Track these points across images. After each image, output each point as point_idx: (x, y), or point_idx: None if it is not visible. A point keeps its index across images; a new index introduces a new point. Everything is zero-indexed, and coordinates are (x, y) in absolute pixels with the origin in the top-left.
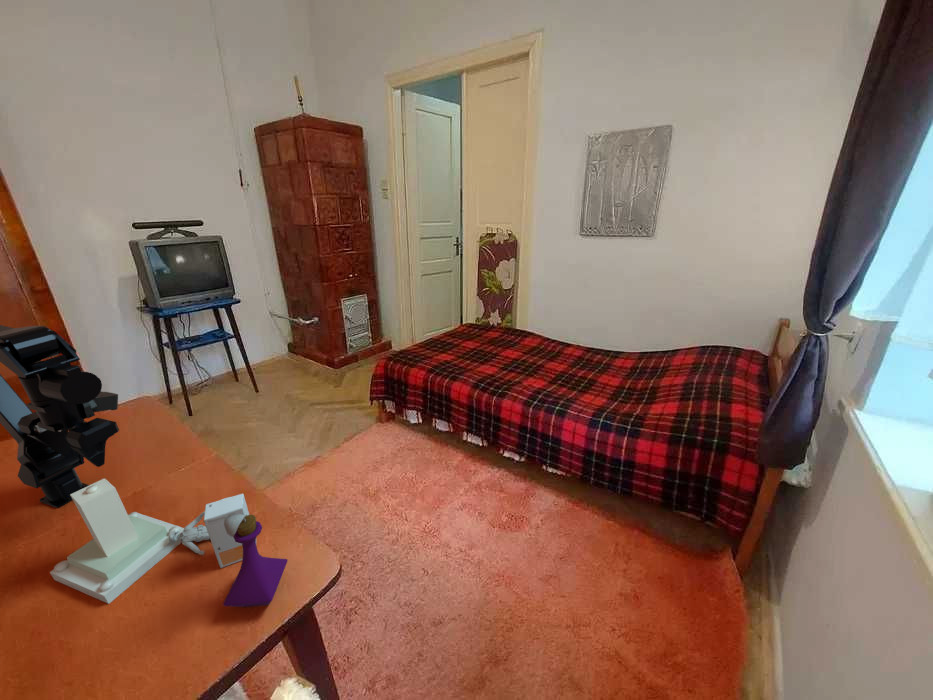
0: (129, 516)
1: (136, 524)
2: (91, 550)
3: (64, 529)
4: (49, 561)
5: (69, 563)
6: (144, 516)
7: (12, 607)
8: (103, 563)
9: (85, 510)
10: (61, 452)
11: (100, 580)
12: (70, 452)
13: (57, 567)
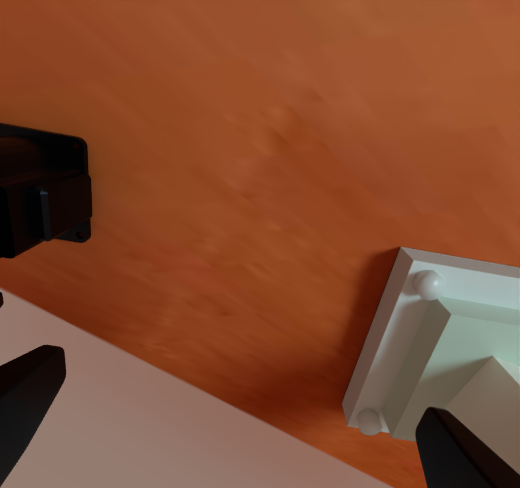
0: (462, 321)
1: (514, 345)
2: None
3: (206, 299)
4: (279, 372)
5: (372, 408)
6: (461, 272)
7: (318, 444)
8: None
9: None
10: (9, 463)
11: None
12: (37, 388)
13: (370, 432)
